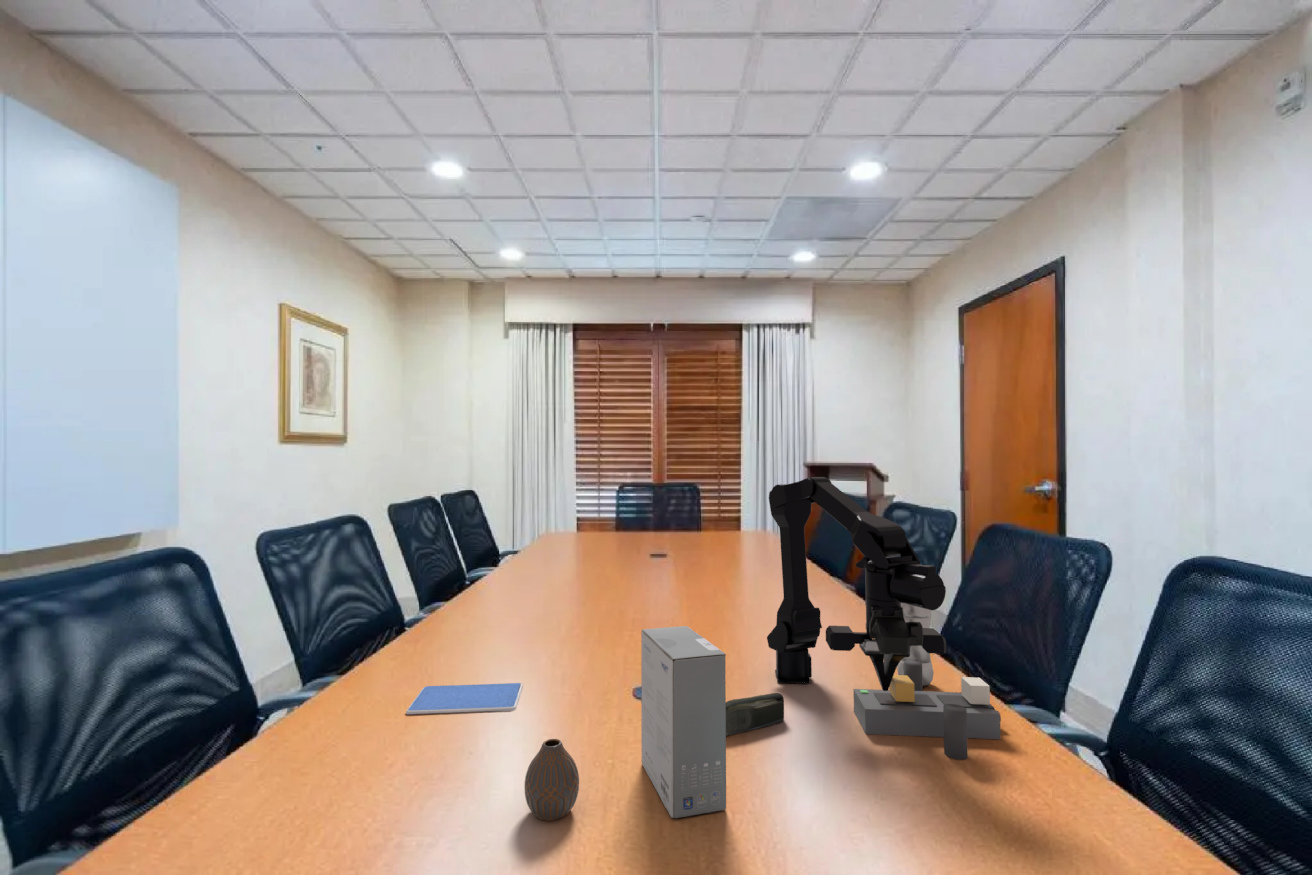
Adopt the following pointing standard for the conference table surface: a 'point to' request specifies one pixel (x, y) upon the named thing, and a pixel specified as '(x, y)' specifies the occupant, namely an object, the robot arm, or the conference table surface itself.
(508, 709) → the tablet computer
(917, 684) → the cylinder
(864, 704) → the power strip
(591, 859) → the conference table surface
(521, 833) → the conference table surface
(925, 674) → the plastic bottle
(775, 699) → the dark green rounded bar
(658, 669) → the hard drive box
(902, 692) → the toggle amber
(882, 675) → the robot arm
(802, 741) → the conference table surface
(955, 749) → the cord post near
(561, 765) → the vase
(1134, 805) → the conference table surface
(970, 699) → the toggle ivory
